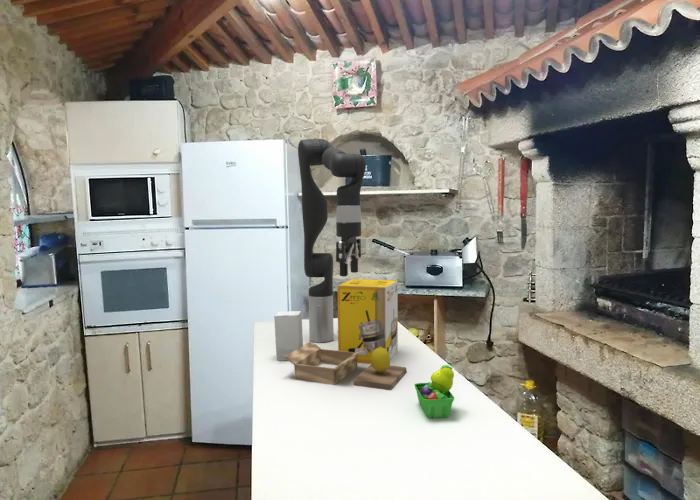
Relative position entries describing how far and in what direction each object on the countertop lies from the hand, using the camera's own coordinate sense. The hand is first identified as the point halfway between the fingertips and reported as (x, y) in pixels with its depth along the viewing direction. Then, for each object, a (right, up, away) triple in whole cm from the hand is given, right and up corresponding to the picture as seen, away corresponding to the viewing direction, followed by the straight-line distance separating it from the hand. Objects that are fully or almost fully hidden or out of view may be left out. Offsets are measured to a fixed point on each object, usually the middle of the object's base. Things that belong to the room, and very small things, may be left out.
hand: (349, 274), depth 150 cm
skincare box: (-20, -29, +16) cm, 39 cm away
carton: (-7, -30, +1) cm, 31 cm away
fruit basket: (+22, -33, -27) cm, 48 cm away
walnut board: (+9, -31, -4) cm, 32 cm away
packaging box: (+7, -29, +18) cm, 35 cm away
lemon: (+9, -29, -4) cm, 31 cm away
